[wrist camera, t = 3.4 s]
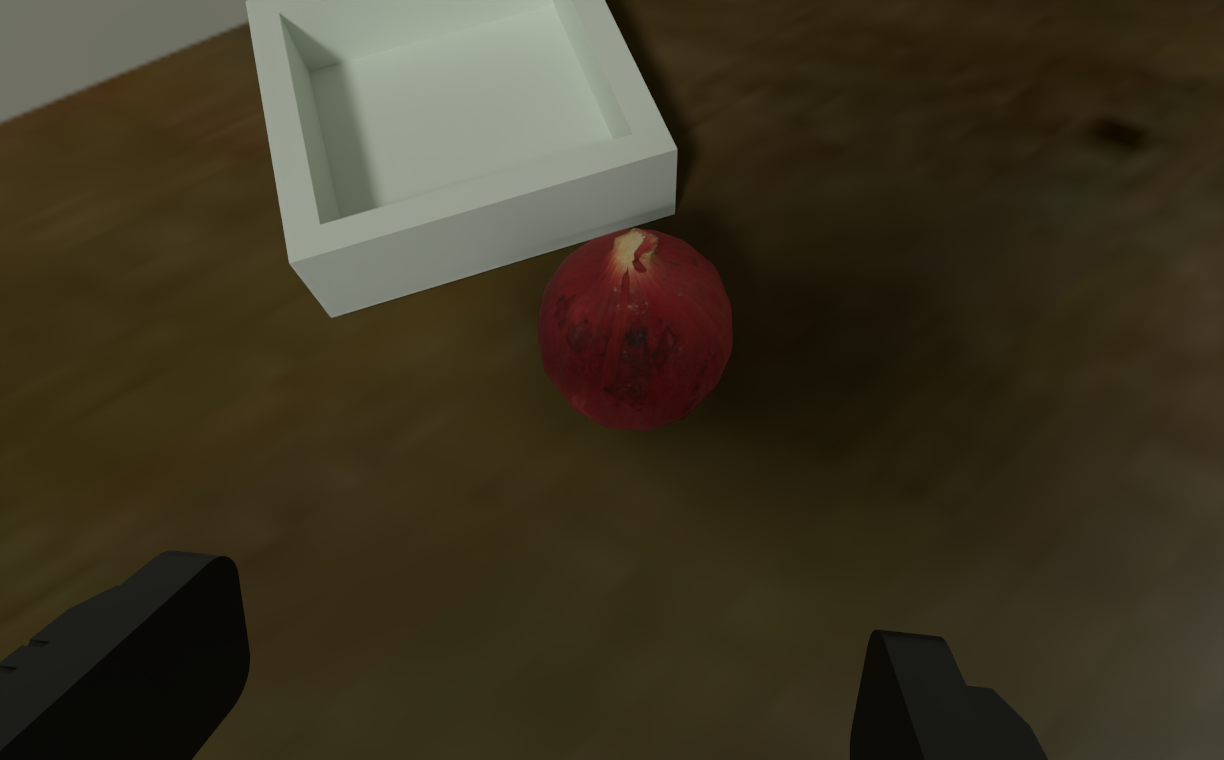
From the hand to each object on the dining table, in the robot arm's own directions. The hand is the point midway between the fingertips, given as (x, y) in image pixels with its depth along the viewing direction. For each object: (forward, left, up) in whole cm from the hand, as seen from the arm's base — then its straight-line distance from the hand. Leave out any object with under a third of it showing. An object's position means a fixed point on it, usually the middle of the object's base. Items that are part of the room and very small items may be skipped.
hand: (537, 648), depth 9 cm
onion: (-4, -9, -14) cm, 17 cm away
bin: (-1, -22, -13) cm, 26 cm away
